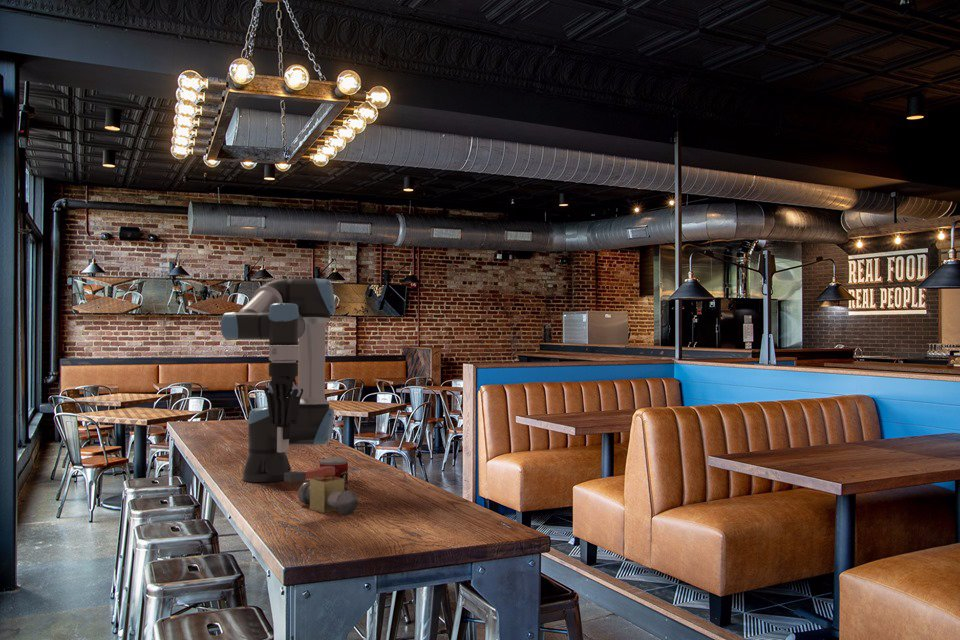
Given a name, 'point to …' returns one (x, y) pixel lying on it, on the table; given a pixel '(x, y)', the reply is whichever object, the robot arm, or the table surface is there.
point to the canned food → (338, 468)
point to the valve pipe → (328, 495)
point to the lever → (309, 474)
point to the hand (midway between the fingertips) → (282, 451)
